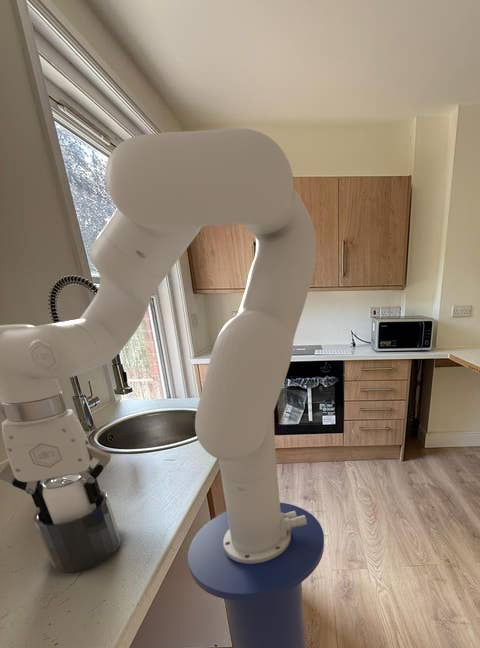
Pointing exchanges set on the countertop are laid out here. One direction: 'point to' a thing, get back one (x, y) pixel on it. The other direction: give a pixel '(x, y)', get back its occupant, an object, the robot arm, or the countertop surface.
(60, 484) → the can
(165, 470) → the countertop surface
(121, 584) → the countertop surface
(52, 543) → the open gray tub
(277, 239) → the robot arm
